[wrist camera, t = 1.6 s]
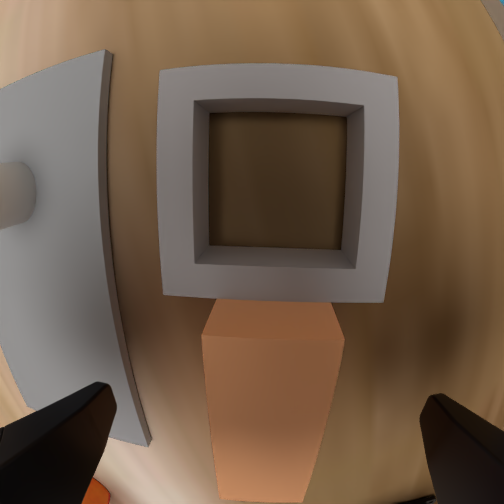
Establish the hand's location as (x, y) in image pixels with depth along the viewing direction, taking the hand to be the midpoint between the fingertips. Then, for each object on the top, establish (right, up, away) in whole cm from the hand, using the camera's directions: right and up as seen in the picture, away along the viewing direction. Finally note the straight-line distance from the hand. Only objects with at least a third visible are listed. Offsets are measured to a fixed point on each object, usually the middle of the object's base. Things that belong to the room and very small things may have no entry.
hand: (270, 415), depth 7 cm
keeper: (-10, +3, +4) cm, 11 cm away
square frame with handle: (0, +3, +3) cm, 4 cm away
